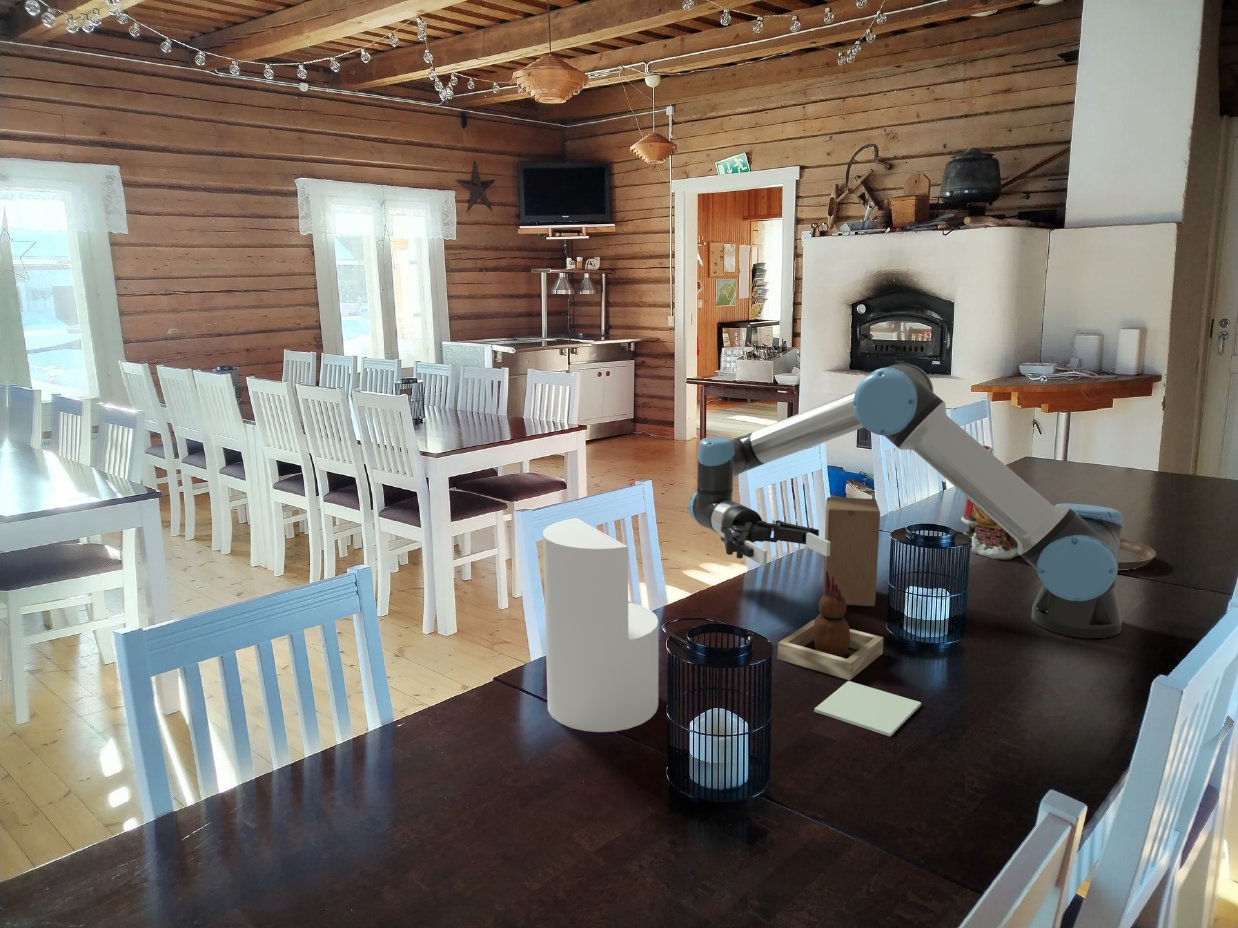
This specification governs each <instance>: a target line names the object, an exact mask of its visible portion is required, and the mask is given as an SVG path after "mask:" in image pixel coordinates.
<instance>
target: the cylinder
mask: <svg viewBox="0 0 1238 928" xmlns="http://www.w3.org/2000/svg"><path fill="white" fill-rule="evenodd" d="M542 541H543V542H542V543H543V545H542V546H543V581H544V617H545V618H544V619H545V655H546V657H545V659H546V660H545V661H546V688H547V689H546V690H547V692H546V693H547V694H546V696H547V698H546V699H547V711H548V713H549V715H550V716H551V718H552V719H554V720H555V721H556V722H558V723H559V724H561V725H564V726H565V727H568V728H570V729H573V730H579V731H583V732H592V733H593V732H594V733H607V732H609V733H610V732H618V731H623V730H629V729H631V728H634V727H637V726H640V725H643V724H644V723H646V722H647V721H649V720H650V719H651V718H652V717H653V716H654V715H655V714H657V710H658V708H659V618H658V616H657V614H655V613H654V612H653V611H652V610H651V609H649V608H646V607H645V606H643V605H639V604H636V603H632V602H629V546H628V545H626V544H624V543H622V542H620V541H619V540H617V539H615V538H613V537H611V536H610V535H608V534H606V533H604V532H603V531H601V530H600V529H597V528H595V527H594V526H592V525H590V524H589V523H586V522H585V521H583V520H581V519H579V518H578V517H574V518H568V519H564V520H560V521H557V522H554V523H552V524H549V525H548V526H546V527H545V528H544V529H543V530H542Z"/></svg>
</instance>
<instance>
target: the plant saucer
mask: <svg viewBox="0 0 1238 928" xmlns="http://www.w3.org/2000/svg"><path fill="white" fill-rule="evenodd" d="M1119 551H1124V552H1130V553H1131V554H1136V555H1137V556H1140V557H1141V558H1143V560H1140V561H1118V569H1134V568H1138V567H1141V568H1143V567H1145V566H1146V565H1147V564H1149V563H1150V562H1151V561H1152V560H1154V558H1155V557H1156V556H1157V553H1156V551H1155V550H1154V549H1153V548H1152V547H1150V546H1148V545H1146V544H1143V543H1141V542H1137V541H1134V540H1131V539H1127V538H1126V539H1125V538H1120V547H1119ZM1138 569H1139V568H1138ZM1134 570H1135V569H1134Z"/></svg>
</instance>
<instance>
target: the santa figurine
mask: <svg viewBox="0 0 1238 928" xmlns="http://www.w3.org/2000/svg"><path fill="white" fill-rule="evenodd" d="M982 446H983V447H985V448H986V449H987V450H988V451H989V452H990V453H992V454H993V455H994V453H993V451H994V449H993V447H991V446H988V445H982ZM965 500H966V501H965V507H964V513H963V514H962V516H961V519H960V520H961V522H962V523H964V524H966V525H967V526H968V530H967V531H966V532H963V533H964V534H966V535H968V536H970V538H972V553H971V554H974V555H978V556H980V557H981V556H982V557H986V558H988V559H993V560H1012V559H1014V558H1016V557H1018V556H1019V557H1020V555H1019V553H1018V543H1017V540H1015V539H1014V538H1013V537H1012V536H1011V535H1010V534H1009V533H1007V532H1006V531H1005V530H1004V529H1003V528H1002V527H1001V526H999V525H998V524H997V523H996V522H995V521H994V520H993V519H991V518H990V517H989V516H988V515H987V514H986V513H985V512H983V511H982V510H981V509H980V508H979V507H978V506H977V505H975V504H974V503H973V502H972V501H971V500H970V499H969V498H967V497H966V499H965Z"/></svg>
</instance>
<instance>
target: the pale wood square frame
mask: <svg viewBox="0 0 1238 928" xmlns="http://www.w3.org/2000/svg"><path fill="white" fill-rule="evenodd" d="M814 622H815V619H812V620H810V621H809V622H808V623H806V624H805V625H803V626H801V627H800V628H799V629H797V630H795V631H794V632H792V633H791V634H789V635H788V636H785V637H784V638H783V639H781V640H780V641H778V642H777V657H776V659H777V660H779V661H783V662H786V663H789V664H793V665H796V666H800V667H803V668H806V669H809V670H813V671H817V672H821V673H824V674H827V675H830V676H834V677H837V678H839V679H843V680H847V681H851V680H852V679H853V678H855V677H856V676H857V675H858V674H860V673H861V672H862V671H863V670H864V669H866V668H867V667H868V666H869V665H870V664H871V663H873V662H874V661H875V660H876V659H878V658H879V657H880V656H881V655H883V654H884V653H883V652H884V651H883V649H884V637H883V636H879V635H875V634H871V633H868V632H864V631H859V630H856V629H854V628H853V629H851V628H849V630H850V644H849V647H848V648H850V649H855V650H857V651H855V652H854V653H852V654H851V655H850V656H849V657H848V658H845V657H838V656H835V655H831V654H827V653H824V652H820V651H817V650H816V649H812V648H810V647H805V646H807V645H809V644H810V643H811V642H814V636H813V627H814Z"/></svg>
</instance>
